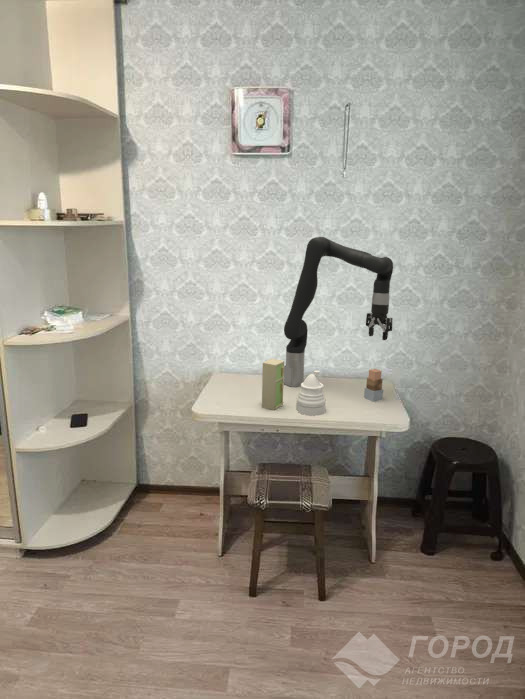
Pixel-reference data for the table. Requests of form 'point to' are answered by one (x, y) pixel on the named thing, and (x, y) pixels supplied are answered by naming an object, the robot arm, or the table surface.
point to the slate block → (373, 395)
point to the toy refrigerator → (272, 384)
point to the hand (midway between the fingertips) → (377, 337)
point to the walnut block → (374, 384)
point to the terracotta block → (374, 374)
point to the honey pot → (311, 396)
